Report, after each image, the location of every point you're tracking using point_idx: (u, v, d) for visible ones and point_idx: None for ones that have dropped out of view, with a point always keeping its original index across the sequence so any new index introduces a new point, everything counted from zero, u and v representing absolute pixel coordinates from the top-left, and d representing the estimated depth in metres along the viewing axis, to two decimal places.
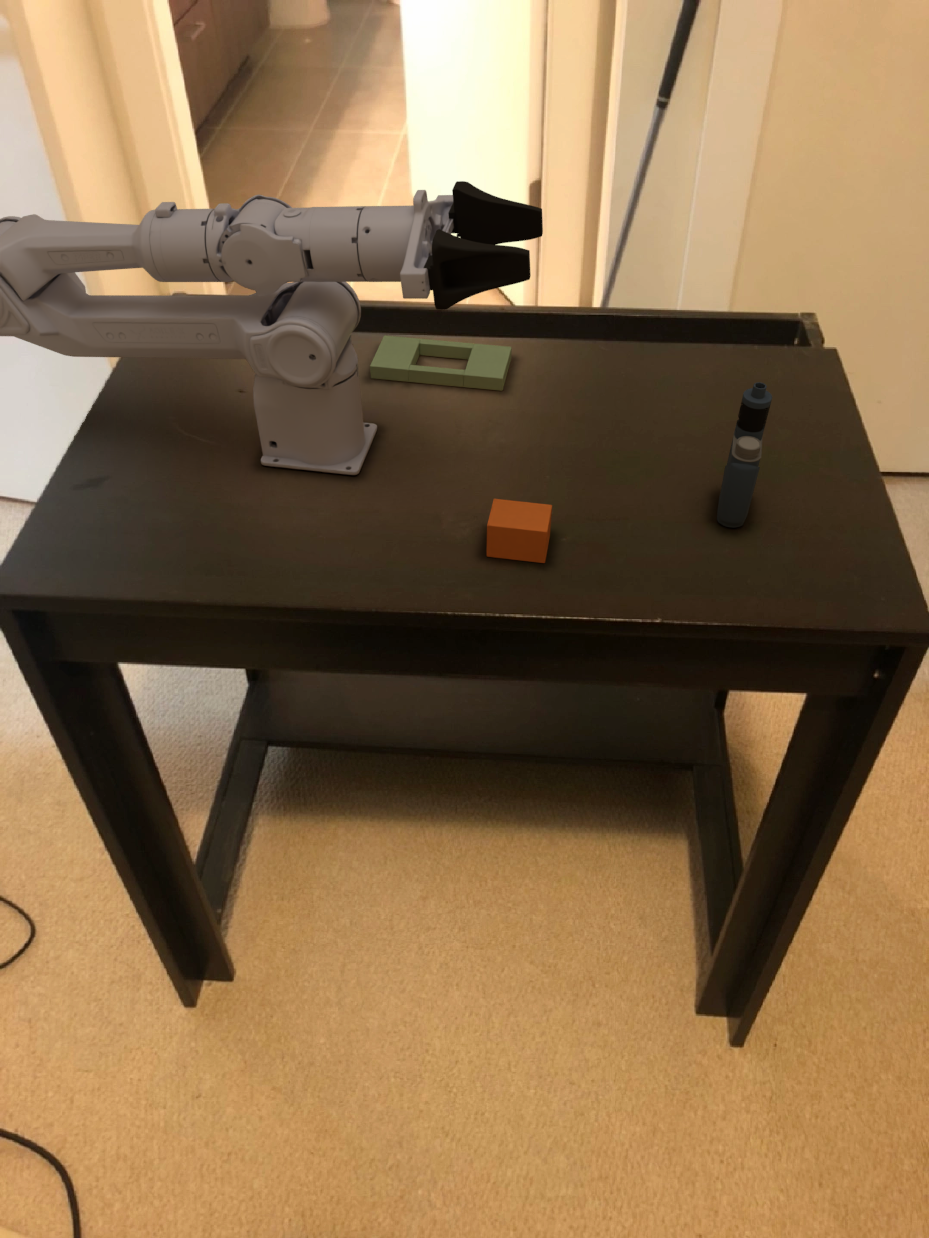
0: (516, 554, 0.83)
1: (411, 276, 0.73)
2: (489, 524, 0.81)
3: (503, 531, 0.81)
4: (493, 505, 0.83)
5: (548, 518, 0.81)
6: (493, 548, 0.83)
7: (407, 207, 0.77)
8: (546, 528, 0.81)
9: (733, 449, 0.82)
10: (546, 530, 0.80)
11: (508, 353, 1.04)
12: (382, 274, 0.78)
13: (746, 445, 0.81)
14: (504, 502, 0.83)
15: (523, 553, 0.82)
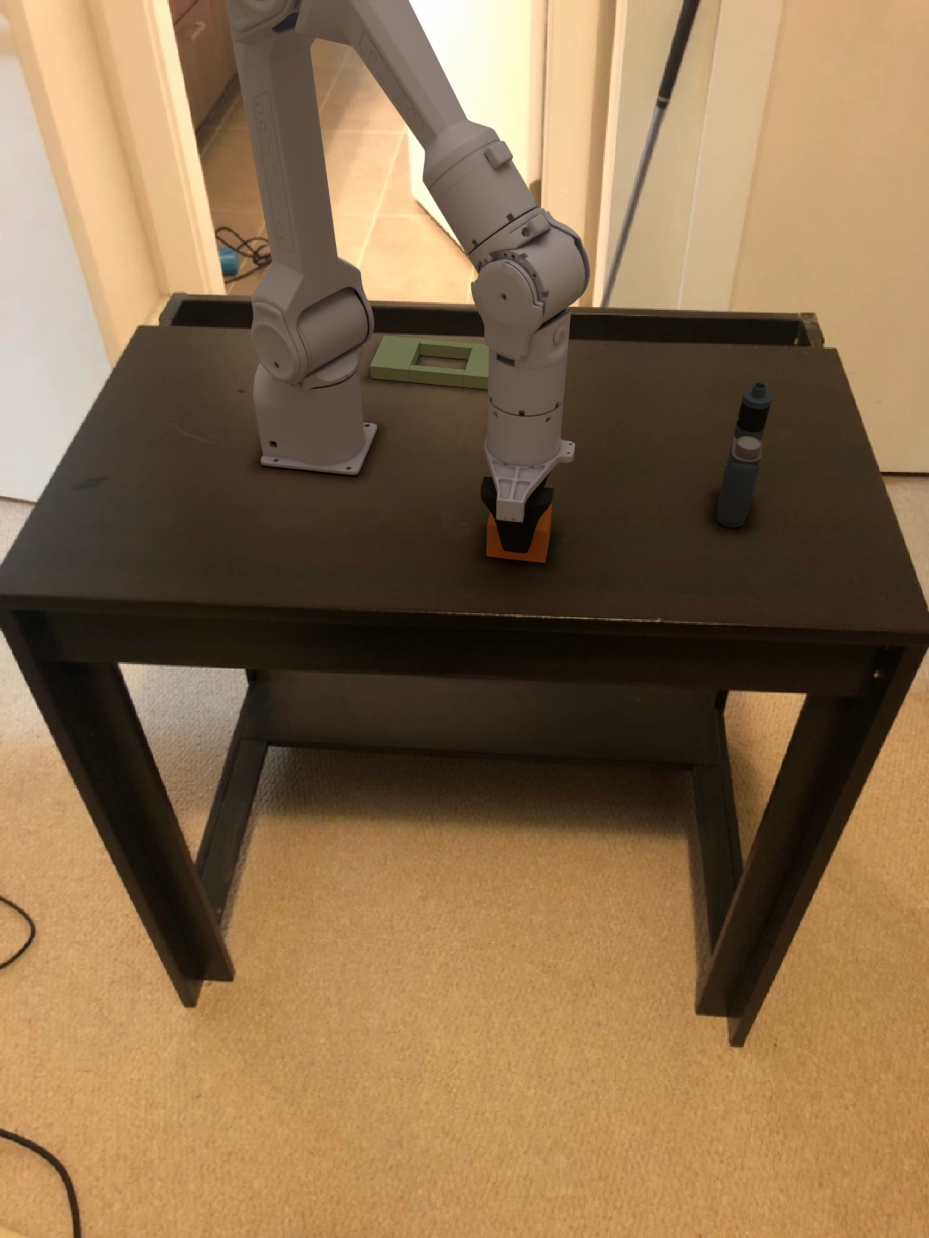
0: (516, 554, 0.83)
1: (520, 511, 0.72)
2: (489, 524, 0.81)
3: None
4: None
5: (548, 518, 0.81)
6: (493, 548, 0.83)
7: (560, 437, 0.76)
8: (546, 528, 0.81)
9: (733, 449, 0.82)
10: (546, 530, 0.80)
11: None
12: (502, 430, 0.73)
13: (746, 445, 0.81)
14: None
15: (523, 553, 0.82)
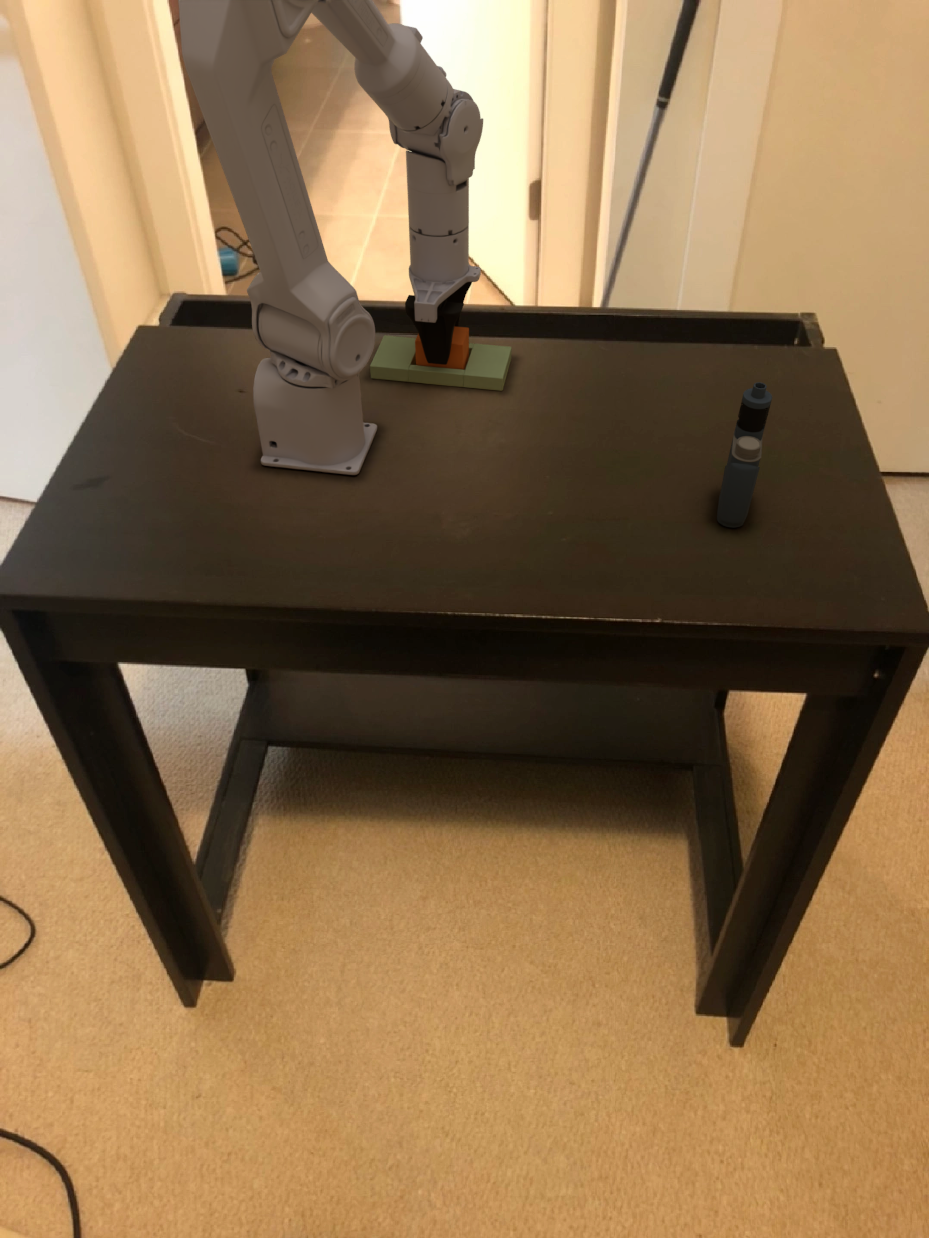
0: None
1: (433, 312, 0.92)
2: (416, 340, 1.01)
3: None
4: None
5: (464, 336, 1.01)
6: (421, 362, 1.02)
7: (468, 261, 0.96)
8: (462, 342, 1.00)
9: (733, 449, 0.82)
10: (462, 344, 1.00)
11: (508, 353, 1.04)
12: (420, 250, 0.93)
13: (746, 445, 0.81)
14: None
15: (445, 366, 1.02)
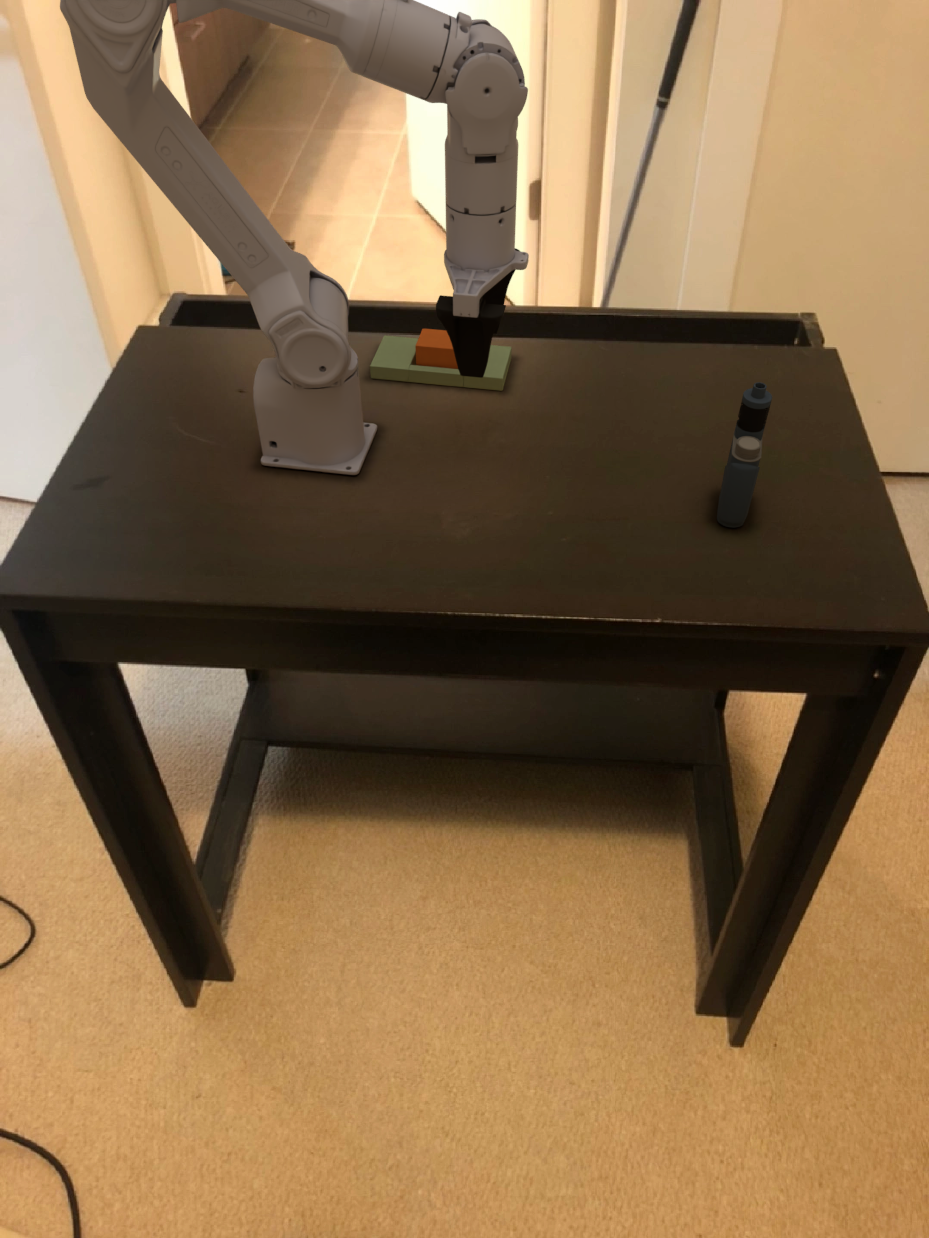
0: None
1: (474, 306, 0.78)
2: (417, 345, 1.01)
3: (428, 351, 1.01)
4: (421, 332, 1.03)
5: None
6: None
7: (514, 245, 0.81)
8: None
9: (733, 449, 0.82)
10: None
11: (508, 353, 1.04)
12: (459, 232, 0.79)
13: (746, 445, 0.81)
14: (430, 331, 1.03)
15: None
